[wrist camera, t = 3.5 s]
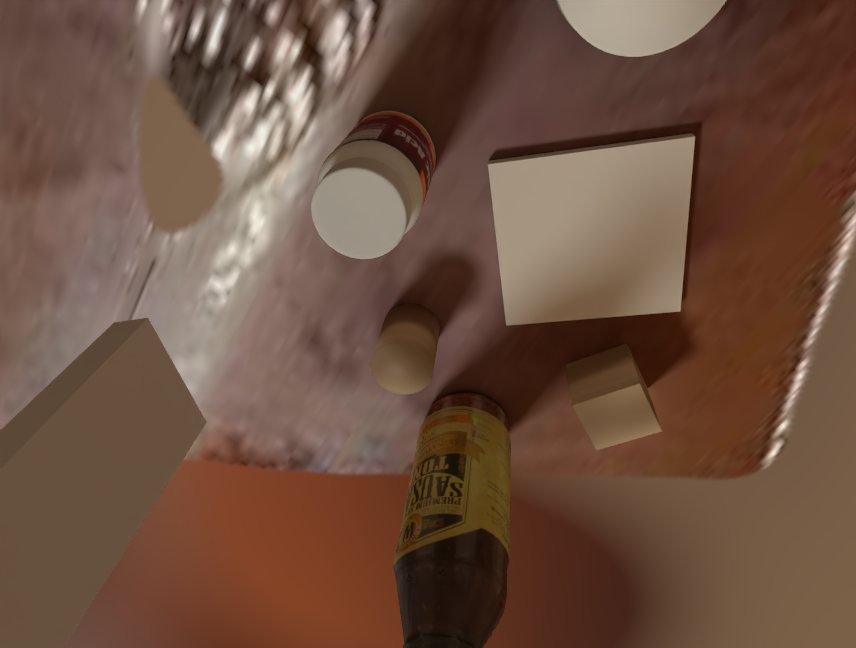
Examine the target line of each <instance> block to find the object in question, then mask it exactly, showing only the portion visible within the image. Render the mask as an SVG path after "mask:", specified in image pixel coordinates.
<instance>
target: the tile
mask: <svg viewBox="0 0 856 648" xmlns="http://www.w3.org/2000/svg"><path fill="white" fill-rule="evenodd" d="M694 145H695V136H694V135H693V134H692V133H690V134H683V135H675V136H668V137H660V138H653V139H646V140H638V141H631V142H623V143H616V144H609V145H601V146H594V147H586V148H579V149H572V150H564V151H557V152H549V153H542V154H535V155H527V156H520V157H513V158H505V159H498V160H490V161H488V169H489V178H490V186H491V195H492V204H493V213H494V222H495V231H496V240H497V248H498V257H499V266H500V275H501V284H502V293H503V301H504V310H505V319H506V326H507V325H520V324H532V323H544V322H557V321H569V320H581V319H594V318H606V317H619V316H631V315H643V314H656V313H668V312H680V311H681V299H682V287H683V275H684V263H685V251H686V240H687V228H688V216H689V204H690V192H691V180H692V168H693V156H694Z"/></svg>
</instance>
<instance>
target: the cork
mask: <svg viewBox="0 0 856 648" xmlns="http://www.w3.org/2000/svg"><path fill="white" fill-rule="evenodd" d="M439 332H440V326H439V322H438V320H437V318H436V316H435V315H434V314H433V313H432V312H431V311H430V310H429V309H427V308H425V307H423V306H421V305H417V304H402V305H398V306H396V307H394V308H393V309H392V310H390V311H389V312H388V314H387V315H386V317H385V320H384V323H383V326H382V329H381V333H380V336H379V339H378V342H377V345H376V348H375V351H374V354H373V358H372V361H371V373H372V375H373V377H374V379H375V380H376V382H377V383H378V384H379V385H380V386H382V387H383V388H385V389H386V390H388V391H391V392H394V393H398V394H412V393H416V392H419V391H421V390H422V389H424V388H425V387H426V386H427V385H428V384H429V383H430V381H431V379H432V375H433V369H434V363H435V357H436V351H437V344H438V338H439Z"/></svg>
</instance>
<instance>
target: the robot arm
mask: <svg viewBox="0 0 856 648" xmlns="http://www.w3.org/2000/svg"><path fill="white" fill-rule="evenodd" d="M205 424H206V420H205V419H204V417H203V415H202V413H201V411H200V410H199V408H198V406H197V404H196V403H195V401H194V399H193V397H192V396H191V394H190V392H189V390H188V388H187V387H186V385H185V383H184V381H183V380H182V378H181V376H180V374H179V372H178V371H177V369H176V367H175V365H174V364H173V362H172V360H171V358H170V357H169V355H168V353H167V351H166V349H165V348H164V346H163V344H162V342H161V341H160V339H159V337H158V335H157V333H156V332H155V330H154V328H153V326H152V325H151V323H150V321H149V319H148V318H144V319H137V320H130V321H123V322H115V323H113V324H112V325H111V326H110V327H109V328H108V329H107V330H106V331H105V332H104V333H103V334H102V335H101V336H100V337H99V338H98V339H96V340H95V341H94V342H93V343H92V344H91V345H90V346H89V347H88V348H87V349H86V350H85V351H84V352H83V353H82V354H81V355H80V356H79V357H77V358H76V359H75V360H74V361H73V362H72V363H71V364H70V365H69V366H68V367H67V368H66V369H65V370H64V371H63V372H62V373H61V374H60V375H58V376H57V377H56V378H55V379H54V380H53V381H52V382H51V383H50V384H49V385H48V386H47V387H46V388H45V389H44V390H43V391H42V392H41V393H39V394H38V395H37V396H36V397H35V398H34V399H33V400H32V401H31V402H30V403H29V404H28V405H27V406H26V407H25V408H24V409H23V410H22V411H20V412H19V413H18V414H17V415H16V416H15V417H14V418H13V419H12V420H11V421H10V422H9V423H8V424H7V425H6V426H5V427H4V428H3V429H1V430H0V648H64V646H65V645H66V643H67V642H68V640H69V638H70V637H71V635H72V633H73V632H74V631H75V629H76V628H77V626H78V624H79V623H80V621H81V620H82V618H83V616H84V615H85V613H86V612H87V610H88V609H89V607H90V605H91V604H92V602H93V601H94V599H95V598H96V596H97V594H98V593H99V591H100V590H101V588H102V586H103V585H104V583H105V582H106V580H107V579H108V577H109V575H110V574H111V572H112V571H113V569H114V567H115V566H116V564H117V563H118V561H119V560H120V558H121V556H122V555H123V553H124V551H125V550H126V548H127V547H128V545H129V544H130V542H131V541H132V539H133V537H134V536H135V534H136V533H137V531H138V530H139V528H140V526H141V525H142V523H143V522H144V520H145V518H146V517H147V515H148V514H149V512H150V511H151V509H152V507H153V506H154V504H155V503H156V501H157V500H158V498H159V496H160V495H161V493H162V491H163V489H164V488H165V487H166V485H167V484H168V482H169V481H170V479H171V477H172V476H173V474H174V473H175V471H176V469H177V468H178V466H179V465H180V463H181V462H182V460H183V458H184V457H185V455H186V454H187V452H188V451H189V449H190V447H191V446H192V444H193V443H194V441H195V439H196V438H197V436H198V435H199V433H200V432H201V430H202V428H203V427H204V425H205Z"/></svg>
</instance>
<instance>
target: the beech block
mask: <svg viewBox="0 0 856 648" xmlns="http://www.w3.org/2000/svg"><path fill="white" fill-rule="evenodd" d="M565 366H566V372H567V379H568V385H569V391H570V398H571V404H572V407H573V409H574V411H575V412H576V414H577V416H578V418H579V420H580V421H581V423H582V425H583V427H584V429H585V430H586V432H587V434H588V436H589V438H590V439H591V441H592V443H593V445H594V447H595V448H596V450H599V449H603V448H606V447H610V446H613V445H616V444H620V443H623V442H627V441H630V440H633V439H637V438H640V437H644V436H647V435H650V434H654V433H657V432H661V431H662V430H661V427H660V424H659V421H658V418H657V415H656V412H655V409H654V406H653V403H652V400H651V397H650V394H649V391H648V388H647V386H646V384H645V382H644V380H643V377H642V375H641V373H640V371H639V369H638V367H637V364H636V362H635V360H634V358H633V356H632V354H631V351H630V349H629V347H628V345H627V343H625V344H622V345H620V346H617V347H614V348H611V349H608V350H606V351H603V352H600V353H597V354H594V355H591V356H589V357H586V358H583V359H580V360H577V361H575V362H572V363H569V364H566V365H565Z"/></svg>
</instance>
